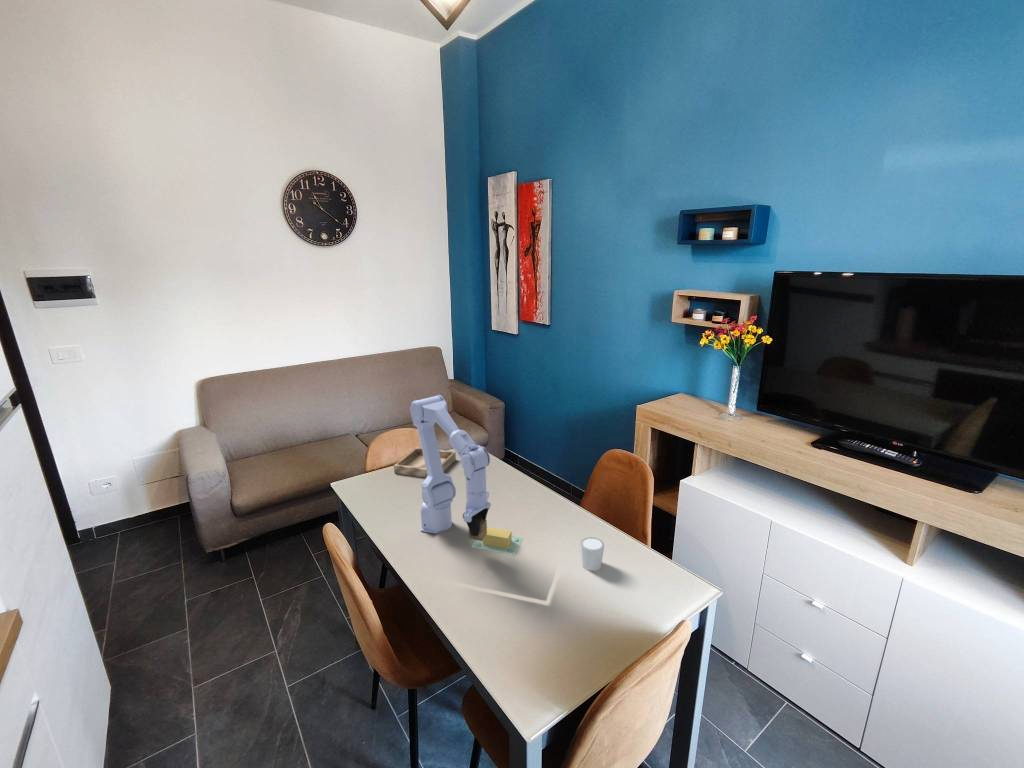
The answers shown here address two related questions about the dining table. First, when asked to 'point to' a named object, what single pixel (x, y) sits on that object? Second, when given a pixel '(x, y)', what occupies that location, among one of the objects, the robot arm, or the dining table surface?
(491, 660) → the dining table surface
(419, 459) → the tan wooden shallow tray
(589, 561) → the shot glass
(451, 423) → the robot arm
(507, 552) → the plate
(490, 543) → the ochre brick
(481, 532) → the walnut block
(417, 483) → the dining table surface
